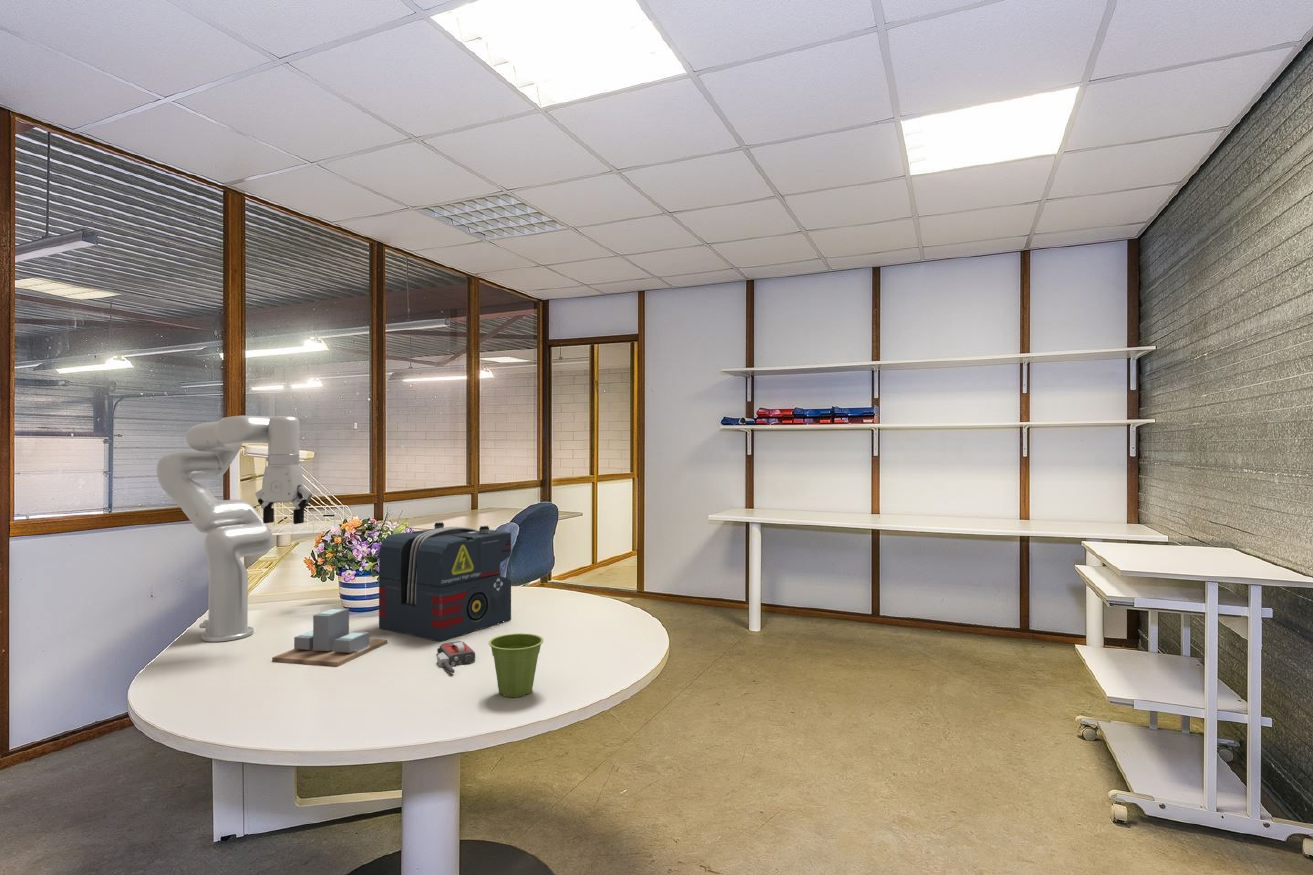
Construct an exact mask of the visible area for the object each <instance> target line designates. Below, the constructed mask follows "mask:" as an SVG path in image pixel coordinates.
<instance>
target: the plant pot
mask: <svg viewBox="0 0 1313 875" xmlns="http://www.w3.org/2000/svg"><path fill="white" fill-rule="evenodd" d="M543 643H544V638H543V637H542V636H540V635H537V634H532V633H522V632H521V633H507V634H502V635H498V636H495V637H493V638H491V639H490V640H488V645H489V647H491V648H490V649H491V654H492V657H493V662H494V668H495V673H496V674H495V675H496V680H497V681H496V682H497V688H498V693H499V694H500V695H502V696H504V697H507V698H519V697H522V696H524V695H529V694H530V693H532V692H533V688H534V683H535V682H534V680H535V676H536V670H537V663H538V657H539V655H540V653H541V652H540V651H541V646H542V644H543Z"/></svg>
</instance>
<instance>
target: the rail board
mask: <svg viewBox="0 0 1313 875" xmlns="http://www.w3.org/2000/svg"><path fill="white" fill-rule="evenodd" d="M370 634H371V633H370V632H367V631H352V632H349V634H348V635H345V636H343V637H340V638H338V639H335V640H334V649H332V650H330V651H318V650H313V630H310V631H307V632H305V633H302V634H300V635H299V634H298V635H297V636H294V637H293V641H294V644H293V645H294V647H293V649H290V650H288V651H285V652H283V653H280V654H277V655H275V656H273V657H271V661H272V663H273V662H275V663H287V664H288V663H289V664H298V665H301V664H302V665H315V666H329V667H340V666H342V665H344V664H346V663H348V662H351V661H352V660H355V659H356V658H359V657H361V656H363V655H365V654H368V653H371V652H372V651H374V650H376V649H378V648H380V647H383V646H385V645H387V644H388V638H387V639H386V638H384V639H383V638H370V637H371V636H370Z"/></svg>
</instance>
